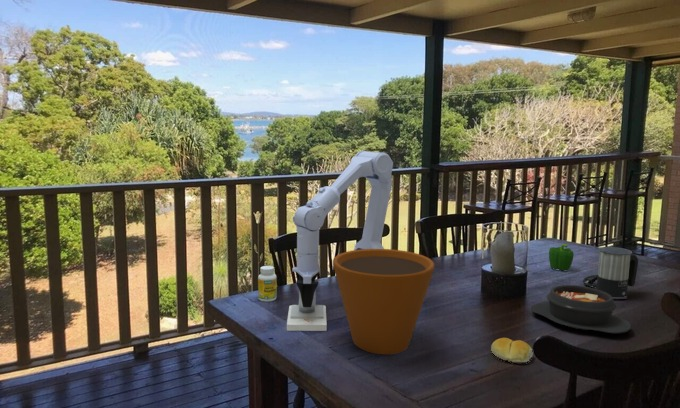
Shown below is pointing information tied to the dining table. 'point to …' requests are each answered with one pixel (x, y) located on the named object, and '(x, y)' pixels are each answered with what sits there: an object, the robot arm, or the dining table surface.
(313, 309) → the cylinder
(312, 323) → the scale
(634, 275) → the milk frother
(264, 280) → the supplement bottle
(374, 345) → the flower pot
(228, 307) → the dining table surface
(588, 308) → the casserole
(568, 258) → the bell pepper
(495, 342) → the bread roll
